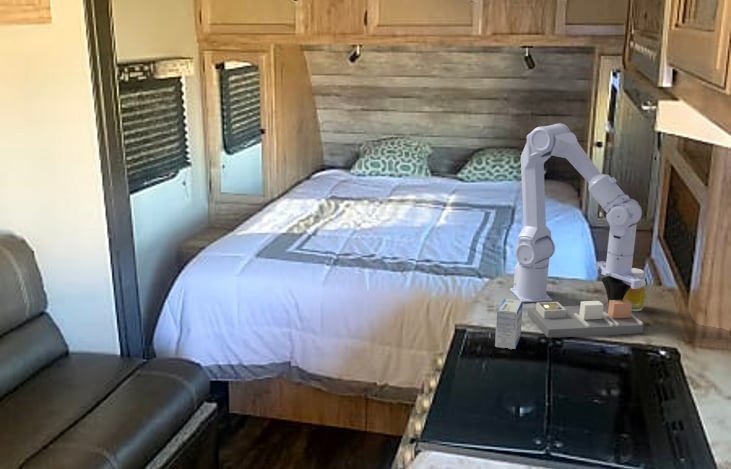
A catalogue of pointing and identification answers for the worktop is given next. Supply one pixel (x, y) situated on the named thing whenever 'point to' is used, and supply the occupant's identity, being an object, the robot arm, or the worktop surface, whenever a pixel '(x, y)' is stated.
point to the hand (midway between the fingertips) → (614, 307)
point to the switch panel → (580, 322)
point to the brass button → (550, 306)
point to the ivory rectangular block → (591, 310)
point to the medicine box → (508, 324)
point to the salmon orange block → (620, 308)
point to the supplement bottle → (636, 292)
